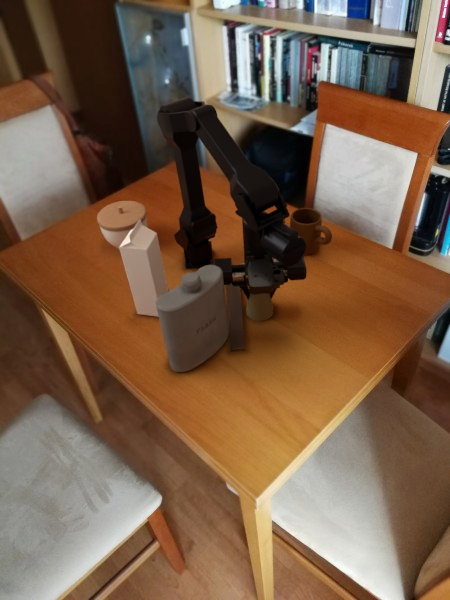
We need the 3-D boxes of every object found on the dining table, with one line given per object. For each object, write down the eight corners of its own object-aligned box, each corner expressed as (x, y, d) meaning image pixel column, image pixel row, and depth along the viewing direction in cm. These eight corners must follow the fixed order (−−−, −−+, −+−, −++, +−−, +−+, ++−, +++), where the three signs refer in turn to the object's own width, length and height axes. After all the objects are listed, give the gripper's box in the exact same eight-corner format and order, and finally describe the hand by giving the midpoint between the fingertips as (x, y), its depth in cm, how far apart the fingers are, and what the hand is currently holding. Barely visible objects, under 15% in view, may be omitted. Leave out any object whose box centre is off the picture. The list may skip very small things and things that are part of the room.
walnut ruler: (230, 351, 97) (230, 349, 97) (227, 281, 113) (226, 278, 113) (245, 350, 97) (245, 348, 97) (239, 280, 113) (239, 277, 113)
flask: (184, 379, 93) (168, 306, 79) (165, 364, 96) (146, 291, 83) (236, 336, 100) (230, 262, 87) (217, 323, 104) (208, 250, 90)
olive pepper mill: (276, 304, 107) (277, 266, 99) (269, 323, 102) (269, 285, 95) (250, 299, 108) (249, 261, 101) (242, 317, 104) (240, 280, 97)
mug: (339, 255, 118) (343, 223, 111) (317, 268, 114) (320, 236, 108) (304, 234, 125) (305, 203, 118) (283, 246, 122) (283, 215, 115)
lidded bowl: (160, 243, 126) (153, 208, 119) (117, 262, 122) (106, 227, 114) (139, 223, 134) (130, 188, 127) (97, 240, 130) (86, 205, 122)
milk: (137, 314, 107) (114, 234, 92) (146, 296, 112) (126, 217, 97) (162, 317, 106) (143, 237, 91) (171, 299, 110) (154, 219, 95)
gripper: (210, 270, 86) (217, 328, 97) (313, 263, 86) (308, 322, 97) (209, 234, 94) (216, 292, 105) (303, 227, 94) (300, 286, 105)
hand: (259, 298), depth 103 cm, fingers closed on olive pepper mill, 4 cm apart
